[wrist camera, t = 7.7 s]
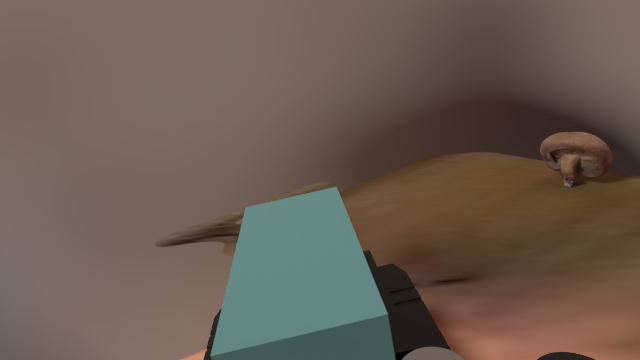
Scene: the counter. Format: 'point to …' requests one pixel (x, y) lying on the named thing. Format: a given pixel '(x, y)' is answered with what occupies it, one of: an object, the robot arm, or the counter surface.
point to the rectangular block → (301, 287)
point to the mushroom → (576, 155)
